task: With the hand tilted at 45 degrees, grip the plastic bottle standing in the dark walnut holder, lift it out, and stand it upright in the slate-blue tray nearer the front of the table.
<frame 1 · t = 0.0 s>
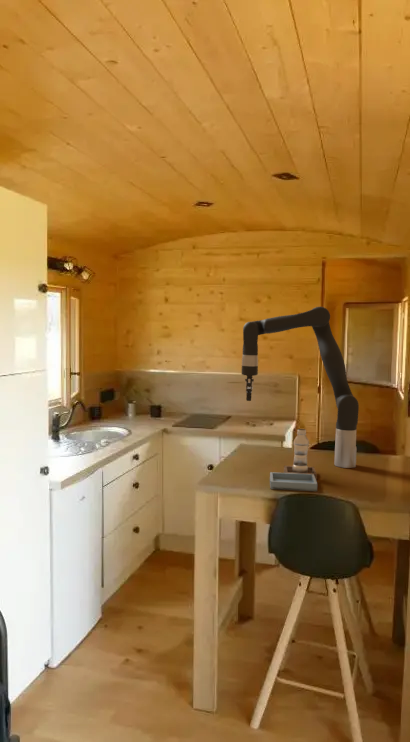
hand: (248, 399, 262), 29 cm above the table, tool pointing down, fingers open, 8 cm apart
plastic bottle: (299, 476, 241), resting in walnut holder
walnut holder: (299, 475, 241), on the table
slate tray: (292, 485, 227), on the table
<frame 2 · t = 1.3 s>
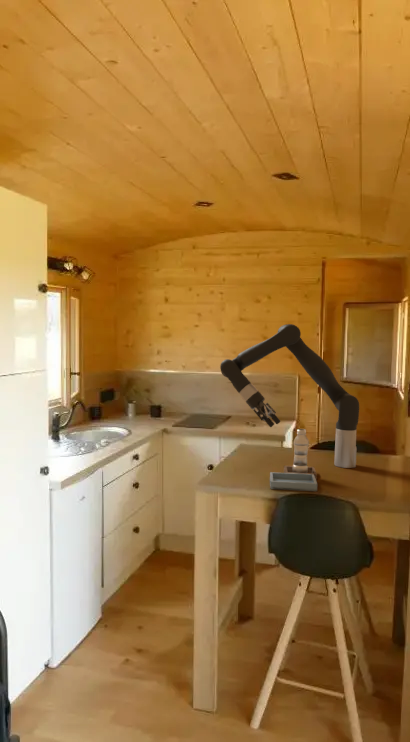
hand: (275, 424, 244), 21 cm above the table, tool tilted 45°, fingers open, 8 cm apart
nothing on the table moved.
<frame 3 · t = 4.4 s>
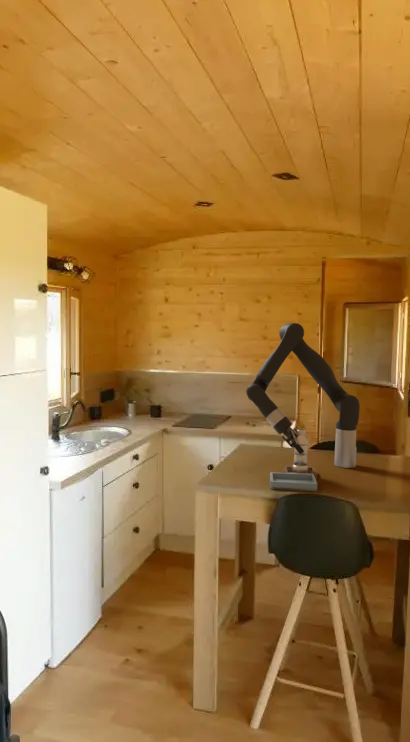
hand: (304, 451, 240), 11 cm above the table, tool tilted 45°, fingers closed on plastic bottle, 6 cm apart
plastic bottle: (299, 476, 241), resting in walnut holder, touching gripper
when the fingers open (13 cm above the table, at t = 10.3 s): plastic bottle drops 1 cm, resting on slate tray.
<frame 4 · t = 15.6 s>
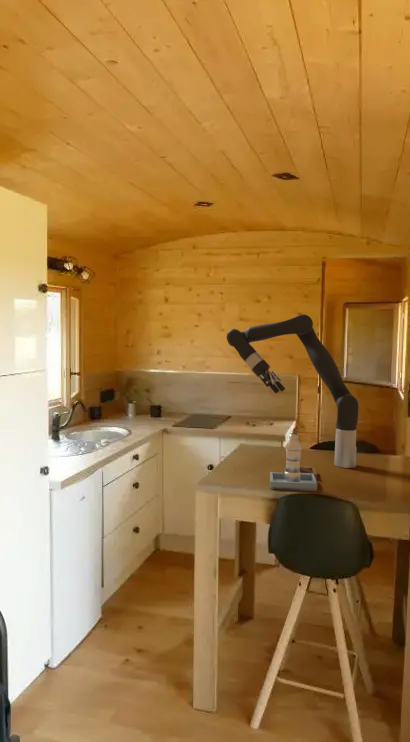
hand: (280, 391, 252), 35 cm above the table, tool tilted 45°, fingers open, 8 cm apart
plastic bottle: (292, 483, 227), point 1 cm above the table, touching slate tray
at the end: plastic bottle inside the target area on the slate tray (0.3 cm from its centre), point 0.6 cm above the slate tray's base; plastic bottle tilted 0°; the gripper is holding nothing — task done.
